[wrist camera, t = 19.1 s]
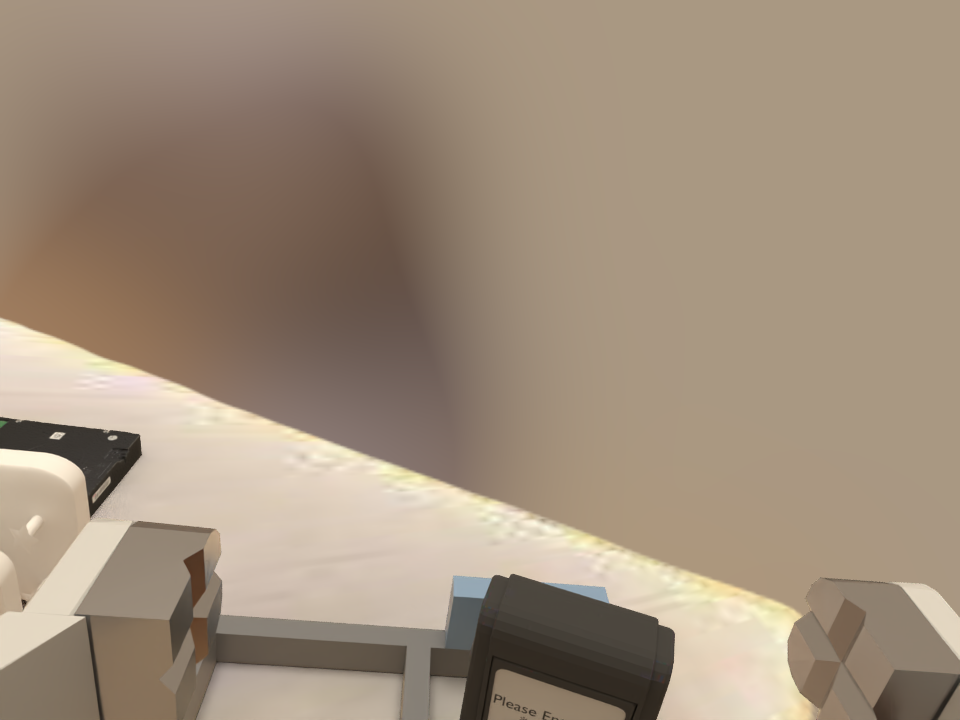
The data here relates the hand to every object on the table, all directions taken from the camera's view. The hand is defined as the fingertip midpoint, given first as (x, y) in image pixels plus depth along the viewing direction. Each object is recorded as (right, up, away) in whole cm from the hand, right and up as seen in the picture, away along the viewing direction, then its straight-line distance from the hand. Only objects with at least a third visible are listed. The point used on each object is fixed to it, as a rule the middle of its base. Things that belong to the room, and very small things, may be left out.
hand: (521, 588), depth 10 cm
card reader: (+2, -22, +29) cm, 37 cm away
